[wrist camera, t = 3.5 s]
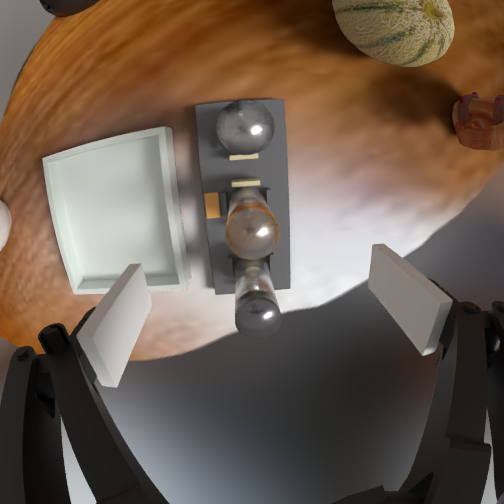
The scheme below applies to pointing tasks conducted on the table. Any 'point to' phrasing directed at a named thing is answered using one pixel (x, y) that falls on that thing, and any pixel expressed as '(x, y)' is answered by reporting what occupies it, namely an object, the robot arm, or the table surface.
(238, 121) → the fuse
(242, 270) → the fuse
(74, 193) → the tray
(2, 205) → the lidded jar
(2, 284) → the table surface
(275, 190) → the fuse holder
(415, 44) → the cantaloupe
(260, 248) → the marked fuse
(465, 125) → the mug
